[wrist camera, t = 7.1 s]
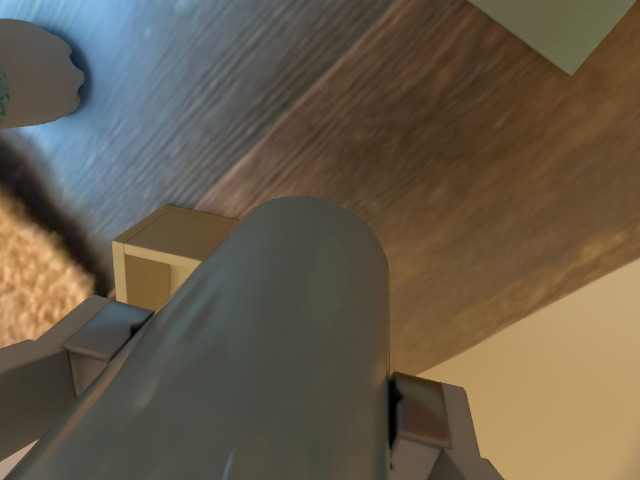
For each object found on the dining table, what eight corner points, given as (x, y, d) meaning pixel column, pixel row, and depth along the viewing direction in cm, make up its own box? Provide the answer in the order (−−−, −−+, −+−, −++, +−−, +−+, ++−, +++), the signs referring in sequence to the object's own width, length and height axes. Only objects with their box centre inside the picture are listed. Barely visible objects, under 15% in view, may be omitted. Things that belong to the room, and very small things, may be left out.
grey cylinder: (231, 177, 12) (-593, 806, 2) (410, 217, 11) (549, 1237, 2) (216, 362, 15) (-116, 949, 5) (354, 398, 15) (286, 1099, 5)
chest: (165, 203, 31) (111, 240, 25) (333, 241, 30) (320, 288, 24) (166, 352, 38) (124, 409, 32) (303, 386, 37) (287, 451, 31)
